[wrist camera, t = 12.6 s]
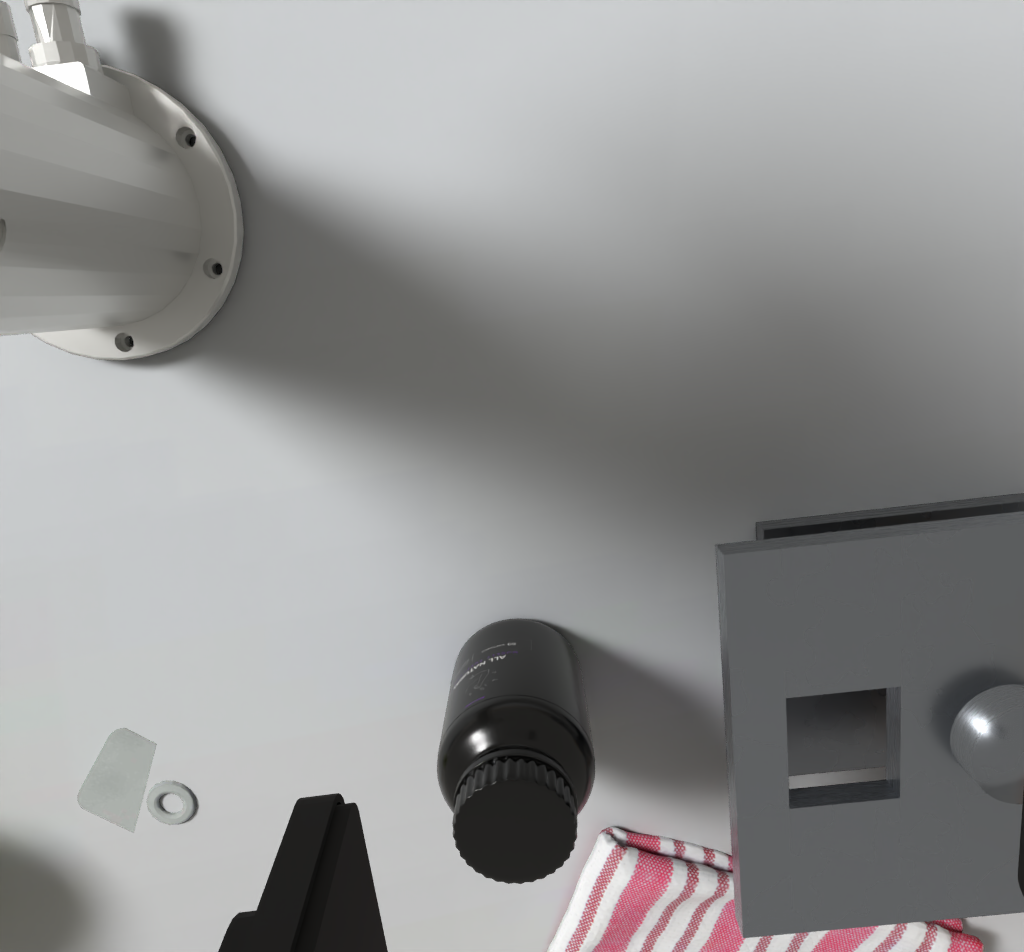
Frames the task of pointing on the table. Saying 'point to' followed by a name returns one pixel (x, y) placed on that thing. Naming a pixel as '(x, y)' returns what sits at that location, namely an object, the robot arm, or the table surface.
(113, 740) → the mounting bracket
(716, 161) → the table surface
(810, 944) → the dish towel
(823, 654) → the gray tiered stand
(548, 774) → the supplement bottle
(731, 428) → the table surface
